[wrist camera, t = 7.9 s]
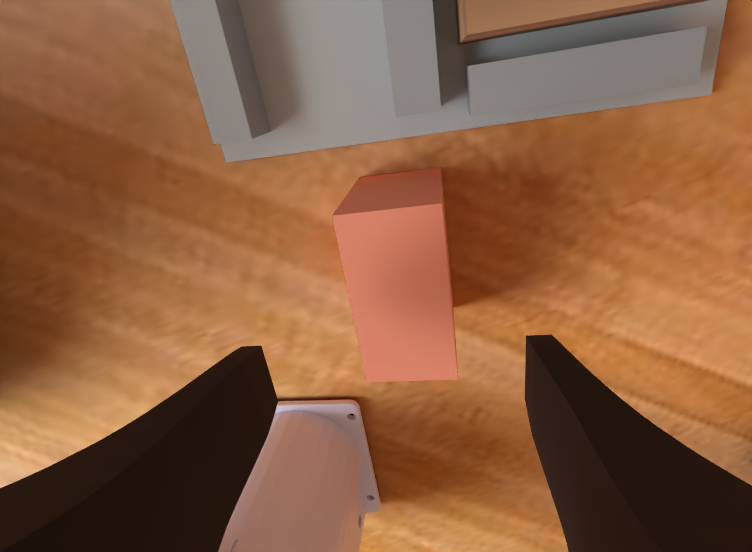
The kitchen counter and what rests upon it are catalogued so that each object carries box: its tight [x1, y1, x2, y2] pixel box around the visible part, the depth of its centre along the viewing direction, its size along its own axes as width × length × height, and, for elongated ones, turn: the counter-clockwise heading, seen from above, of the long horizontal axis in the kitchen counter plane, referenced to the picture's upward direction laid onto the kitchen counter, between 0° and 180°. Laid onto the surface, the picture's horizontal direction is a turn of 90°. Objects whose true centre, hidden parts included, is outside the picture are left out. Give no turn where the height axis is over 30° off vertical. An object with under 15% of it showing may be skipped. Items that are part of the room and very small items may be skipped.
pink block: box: [332, 167, 458, 382], centre depth 17 cm, size 7×4×6 cm, turn 9°
